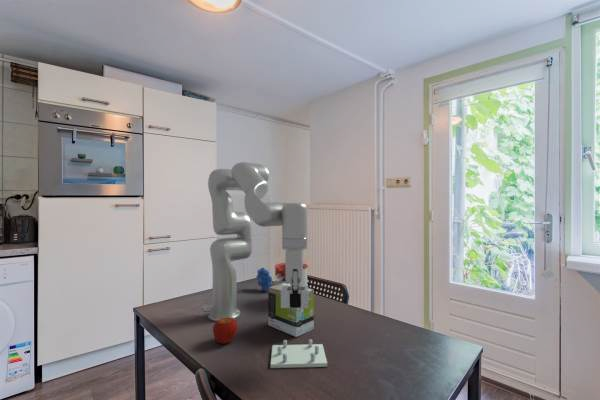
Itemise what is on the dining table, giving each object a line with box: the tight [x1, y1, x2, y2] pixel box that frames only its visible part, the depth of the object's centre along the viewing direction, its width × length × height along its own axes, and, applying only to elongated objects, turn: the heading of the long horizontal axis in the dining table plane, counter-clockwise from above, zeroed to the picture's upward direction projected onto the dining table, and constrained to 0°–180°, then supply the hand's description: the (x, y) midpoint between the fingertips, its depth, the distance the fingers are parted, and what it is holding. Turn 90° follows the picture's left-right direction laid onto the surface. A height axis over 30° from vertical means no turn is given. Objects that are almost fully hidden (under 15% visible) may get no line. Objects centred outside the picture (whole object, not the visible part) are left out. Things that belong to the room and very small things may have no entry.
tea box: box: [267, 283, 315, 338], centre depth 108 cm, size 15×10×15 cm
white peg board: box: [270, 338, 328, 369], centre depth 87 cm, size 16×11×3 cm
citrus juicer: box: [273, 262, 309, 286], centre depth 135 cm, size 16×17×20 cm
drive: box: [281, 285, 309, 308], centre depth 87 cm, size 8×5×5 cm, turn 87°
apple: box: [212, 317, 239, 345], centre depth 97 cm, size 8×8×8 cm
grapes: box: [256, 267, 273, 292], centre depth 152 cm, size 12×7×12 cm, turn 49°
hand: (295, 303), depth 87 cm, fingers closed on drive, 5 cm apart
